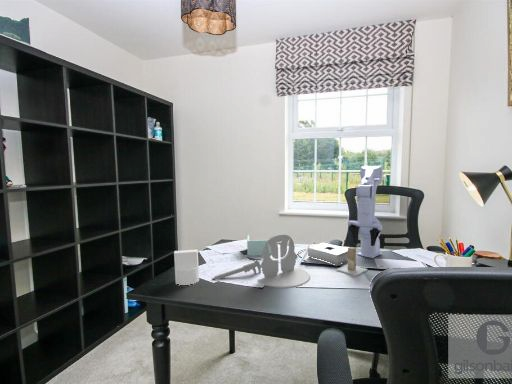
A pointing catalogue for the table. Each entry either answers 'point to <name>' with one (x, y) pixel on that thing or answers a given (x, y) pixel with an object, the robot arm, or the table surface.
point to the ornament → (282, 265)
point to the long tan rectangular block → (352, 258)
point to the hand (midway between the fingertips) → (364, 243)
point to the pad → (350, 272)
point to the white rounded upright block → (186, 267)
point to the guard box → (329, 253)
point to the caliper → (241, 270)
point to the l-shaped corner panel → (256, 246)
